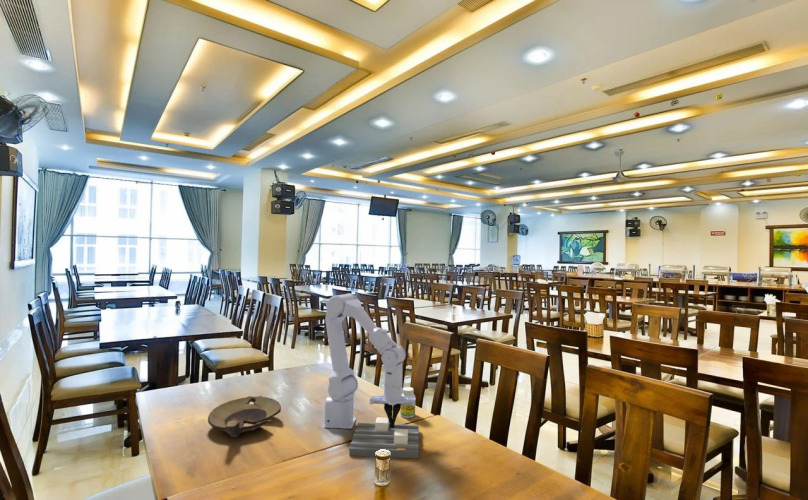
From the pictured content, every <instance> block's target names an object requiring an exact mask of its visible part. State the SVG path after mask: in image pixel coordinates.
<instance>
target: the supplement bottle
mask: <svg viewBox="0 0 808 500" xmlns="http://www.w3.org/2000/svg"><path fill="white" fill-rule="evenodd" d="M414 390H415V389H414V388H413V387H410V386H404V387H402V396H405V397H411V398H416V395H415V393H414ZM399 412H400V416H401V417H402V418H404V419H410V418H414V417H415V416H416V405H415V406H412V405H401V408H400V411H399Z"/></svg>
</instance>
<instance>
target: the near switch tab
mask: <svg viewBox="0 0 808 500" xmlns="http://www.w3.org/2000/svg"><path fill="white" fill-rule="evenodd" d="M394 444H408V430H404V429H395V432H394Z"/></svg>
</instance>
